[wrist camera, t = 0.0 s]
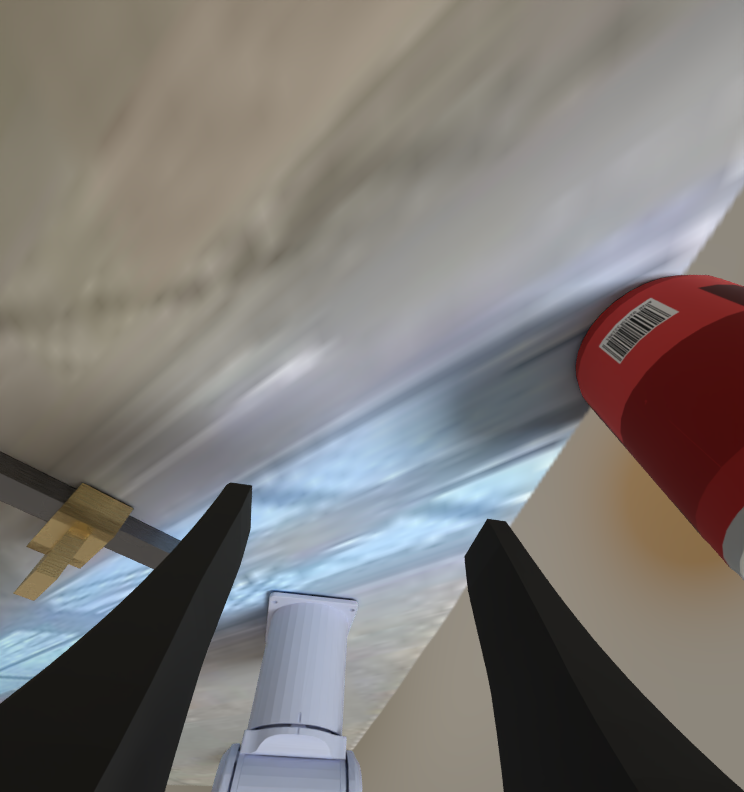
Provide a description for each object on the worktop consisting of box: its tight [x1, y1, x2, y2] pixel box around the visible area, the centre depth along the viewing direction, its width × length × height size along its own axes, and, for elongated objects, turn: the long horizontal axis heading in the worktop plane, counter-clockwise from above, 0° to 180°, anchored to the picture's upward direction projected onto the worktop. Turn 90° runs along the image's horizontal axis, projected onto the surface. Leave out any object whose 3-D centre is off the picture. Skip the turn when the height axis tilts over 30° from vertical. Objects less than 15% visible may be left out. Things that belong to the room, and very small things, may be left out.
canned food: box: [576, 275, 744, 580], centre depth 14 cm, size 8×8×11 cm
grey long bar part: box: [0, 452, 181, 569], centre depth 23 cm, size 30×9×2 cm, turn 43°
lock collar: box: [14, 483, 133, 601], centre depth 24 cm, size 4×5×5 cm, turn 133°
